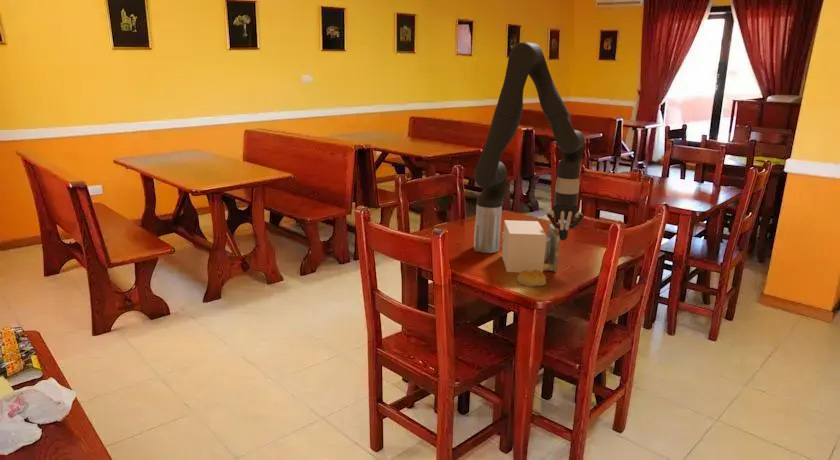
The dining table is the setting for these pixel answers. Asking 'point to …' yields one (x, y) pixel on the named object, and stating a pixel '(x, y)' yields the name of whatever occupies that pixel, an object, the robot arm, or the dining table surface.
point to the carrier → (552, 249)
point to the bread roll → (532, 278)
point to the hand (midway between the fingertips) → (562, 239)
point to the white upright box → (523, 246)
